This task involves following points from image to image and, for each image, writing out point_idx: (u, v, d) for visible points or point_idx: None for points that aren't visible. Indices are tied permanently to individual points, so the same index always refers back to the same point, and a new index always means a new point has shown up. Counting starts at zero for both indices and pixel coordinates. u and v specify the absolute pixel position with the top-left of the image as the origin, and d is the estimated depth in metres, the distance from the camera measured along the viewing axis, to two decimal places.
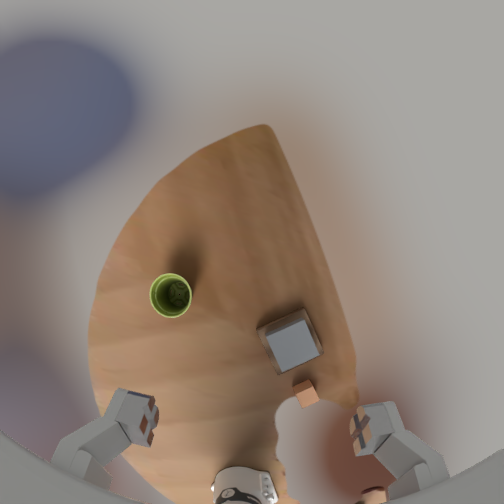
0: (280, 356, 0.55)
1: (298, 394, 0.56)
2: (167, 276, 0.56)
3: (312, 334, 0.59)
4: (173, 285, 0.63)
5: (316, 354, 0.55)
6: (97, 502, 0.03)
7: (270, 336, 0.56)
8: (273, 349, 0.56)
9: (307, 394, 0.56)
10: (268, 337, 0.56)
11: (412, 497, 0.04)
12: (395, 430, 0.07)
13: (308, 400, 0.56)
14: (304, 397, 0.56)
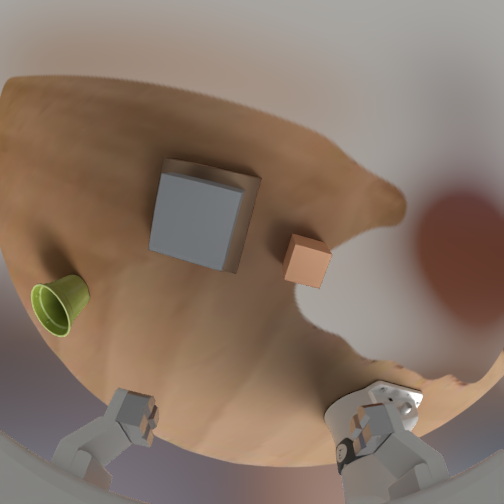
0: (192, 253, 0.30)
1: (288, 276, 0.32)
2: (36, 296, 0.33)
3: (212, 174, 0.31)
4: None
5: (236, 197, 0.28)
6: (97, 502, 0.03)
7: (151, 243, 0.30)
8: (174, 254, 0.30)
9: (302, 263, 0.31)
10: (151, 246, 0.30)
11: (412, 497, 0.04)
12: (395, 430, 0.07)
13: (314, 269, 0.31)
14: (303, 271, 0.31)
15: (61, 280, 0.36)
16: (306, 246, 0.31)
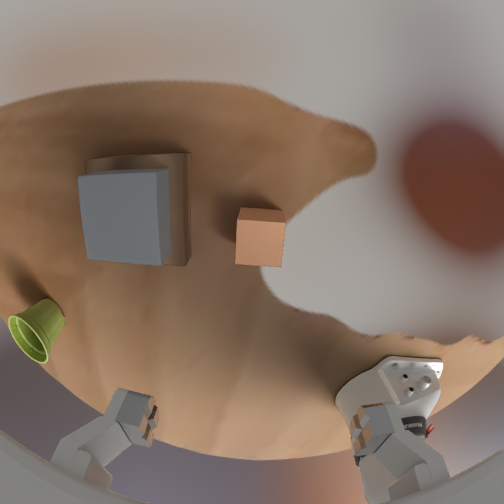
0: (127, 252, 0.25)
1: (239, 259, 0.26)
2: (14, 327, 0.30)
3: (132, 163, 0.25)
4: None
5: (152, 178, 0.22)
6: (97, 502, 0.03)
7: (88, 251, 0.25)
8: (111, 258, 0.25)
9: (251, 240, 0.26)
10: (89, 255, 0.25)
11: (412, 497, 0.04)
12: (395, 430, 0.07)
13: (268, 245, 0.26)
14: (255, 250, 0.26)
15: (32, 307, 0.32)
16: (252, 219, 0.25)
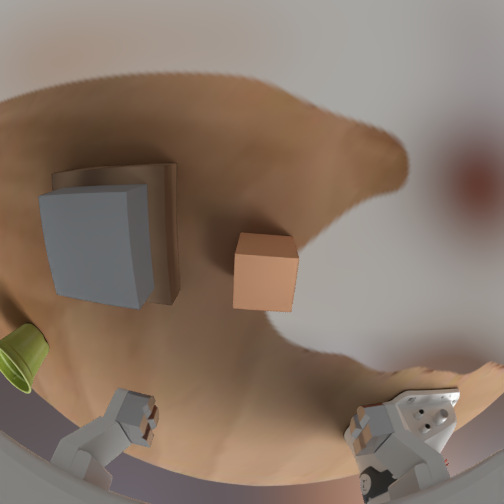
0: (98, 291, 0.19)
1: (238, 302, 0.20)
2: None
3: (103, 178, 0.19)
4: None
5: (121, 200, 0.16)
6: (97, 502, 0.03)
7: (56, 286, 0.19)
8: (82, 296, 0.19)
9: (253, 280, 0.20)
10: (58, 290, 0.19)
11: (412, 497, 0.04)
12: (395, 430, 0.07)
13: (275, 286, 0.20)
14: (258, 292, 0.20)
15: (13, 333, 0.26)
16: (254, 253, 0.19)
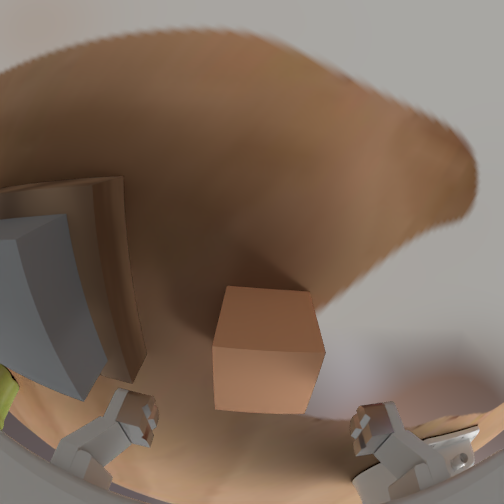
0: (31, 370, 0.10)
1: (223, 404, 0.12)
2: None
3: (20, 205, 0.10)
4: None
5: (13, 253, 0.07)
6: (97, 502, 0.03)
7: None
8: (18, 370, 0.11)
9: (245, 381, 0.11)
10: None
11: (412, 497, 0.04)
12: (395, 430, 0.07)
13: (281, 388, 0.11)
14: (254, 394, 0.11)
15: None
16: (247, 343, 0.10)
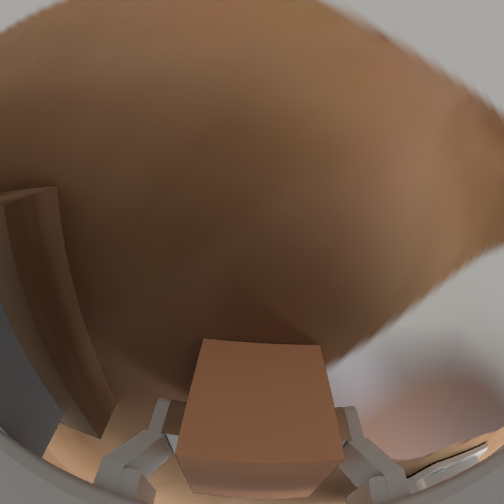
0: None
1: (203, 491, 0.07)
2: None
3: None
4: None
5: None
6: (97, 502, 0.03)
7: None
8: None
9: (229, 481, 0.06)
10: None
11: (412, 497, 0.04)
12: (352, 437, 0.07)
13: (279, 485, 0.06)
14: (241, 488, 0.06)
15: None
16: (227, 448, 0.06)
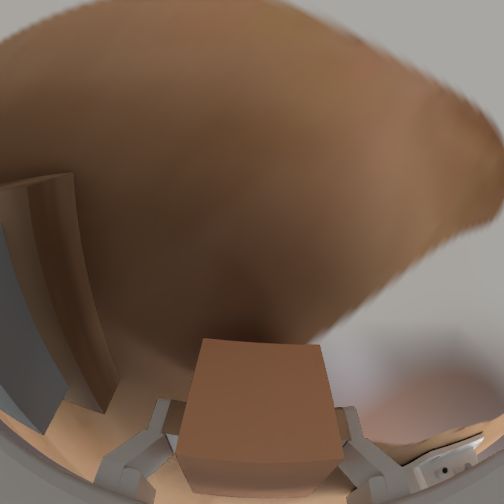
0: None
1: (202, 490, 0.07)
2: None
3: None
4: None
5: None
6: (97, 502, 0.03)
7: None
8: None
9: (229, 481, 0.06)
10: None
11: (412, 497, 0.04)
12: (352, 437, 0.07)
13: (279, 485, 0.06)
14: (241, 488, 0.06)
15: None
16: (227, 448, 0.06)
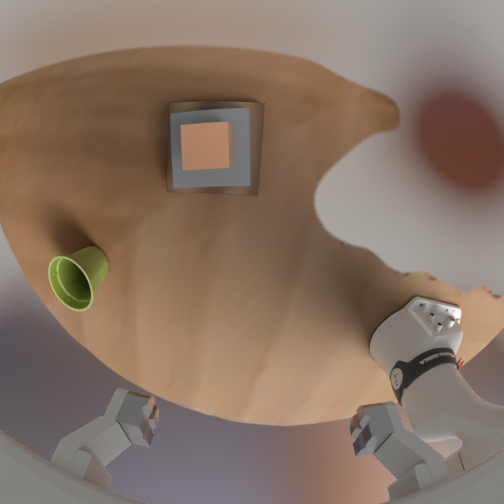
0: (217, 176, 0.30)
1: (186, 164, 0.24)
2: (53, 274, 0.34)
3: (218, 107, 0.30)
4: None
5: (245, 112, 0.27)
6: (97, 502, 0.03)
7: (175, 180, 0.30)
8: (200, 183, 0.30)
9: (195, 143, 0.24)
10: (176, 184, 0.30)
11: (412, 497, 0.04)
12: (395, 430, 0.07)
13: (213, 146, 0.24)
14: (200, 153, 0.24)
15: (77, 252, 0.37)
16: (195, 124, 0.23)
